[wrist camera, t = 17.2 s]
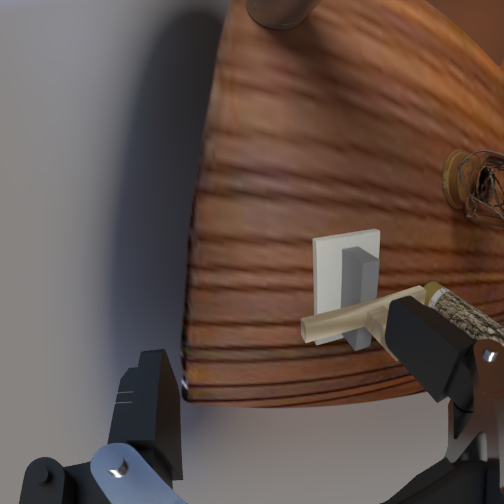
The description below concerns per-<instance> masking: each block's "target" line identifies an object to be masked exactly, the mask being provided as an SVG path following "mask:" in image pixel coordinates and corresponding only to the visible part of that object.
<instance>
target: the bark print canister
mask: <svg viewBox="0 0 504 504" xmlns="http://www.w3.org/2000/svg"><path fill="white" fill-rule="evenodd" d="M423 288H424V289H426V290H427V291H426V297H425V302H424V305H426V306H428V307H431V308H433V309H435V310H436V311H438V312H439V313H440V314H442V315H443V317H446V318H447V319H448V320H449V321H450V323H453V324H455V325H456V326H457V327H459V328H460V329H461V330H462V331H464V332H465V333H466V334H467V335H469V336H470V337H471V338H473V339H474V340H475V341H476V342H477V341H479V340H481V339H492V340H495V341H497V342H499V343H500V344H502V345H503V346H504V327H503V326H501V325H500V324H498V323H497V322H496V321H494V320H493V319H491V318H490V317H489V316H487V315H486V314H484V313H483V312H481V311H480V310H478V309H477V308H475V307H474V306H472V305H471V304H469V303H468V302H466V301H465V300H463V299H462V298H460V297H459V296H457V295H456V294H454V293H453V292H451V291H450V290H448V289H446V288H445V287H443V286H441V285H440V284H438V283H437V282H434V281H432V282H429V283H427V284H426V285H425V286H424V287H423Z"/></svg>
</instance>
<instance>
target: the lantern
mask: <svg viewBox="0 0 504 504" xmlns="http://www.w3.org/2000/svg"><path fill="white" fill-rule="evenodd" d="M478 152H486V153H485V154H483V155H482V156H481V157H480V158H478V157H476V156H475V155H473V154H475V153H478ZM497 161H499V162H497ZM500 162H502V163H500ZM489 166H492V167H493V166H494V167H493V168H496V169H497V170H496V172H497V171H500V170H502V169H500V167H501V168H504V153H502V152H499V151H494V150H493V151H489V150H479V151H476V152H473V153H471V154H468V153H467V152H465V151H464V150H462V149H456V150H453V151H452V152H451V153H450V154H449V155H448V157H447V159H446V161H445V164H444V170H443V174H442V185H443V192H444V196H445V198H446V200H447V202H448V203H449V204H450V206H452V207H453V208H455V209H460V208H463V213H464V215H465V218H466V219H468V220H469V221H471V222H473V223H479V224H485V225H491V226H497V227H503V228H504V215H501V213H499V212H498V211H497V210H495V209H494V208H492V207H491V205H489V204H488V203H489V202H490V200H491V199H492V197H493V193H494V195H495V199H496V201H497V203H498V205H494V207H500V209H501V210H502V212H503V213H504V209H502V207H501V206H502V205H504V203H501V204H500V202H499V199H498V197H497V194H496V188H495V179H496V180H497V178H496V177H495V174H494V173H496V172H495V171H494V170H495V169H494V170H491V169H490V167H489ZM503 171H504V170H503ZM497 182H498V184H499V186H500V188H501V190H502V187H501V185H500V183H499V181H498V180H497ZM502 192H503V190H502ZM503 195H504V192H503ZM479 202H480V203H482V204H483V205H485V206H487V207H489V208H490V209H492V210H493V211H495V212H496V213H497V214H491V213H483V212H478V211H476V209H477V204H478V203H479ZM503 202H504V201H503ZM474 207H475V209H474V210H473V208H474Z"/></svg>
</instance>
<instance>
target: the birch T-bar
mask: <svg viewBox="0 0 504 504" xmlns="http://www.w3.org/2000/svg"><path fill="white" fill-rule="evenodd" d="M426 291H427V290H426V289H424V288H423V287H421V286H420V285H419V286H416V287H413V288H409V289H406V290H403V291H400V292H397V293H393V294H390V295H387V296H383V297H380V298H377V299H373V300H370V301H366V302H363V303H359V304H355V305H352V306H348V307H344V308H340V309H337V310H333V311H329V312H325V313H321V314H317V315H313V316H308V317H304V318H301V336H302V337H303V339H304V341H305V342H306V343H308V342H311V341H315V340H319V339H323V338H326V337H330V336H334V335H337V334H341V333H344V332H347V331H351V330H354V329H357V328H361V327H365V328H366V329H367V330H368V331H369V332H370V333H371V334H372V335H373V336H374V338H375V339H376V340H377V341H378V342H379V343H380V344H381V345H382V346H383V347H384V348H385V349H386V351H387V352H388V353H389V354H390V355H391V356H392V357H393V358H394V359H395V360H396V361H398V359H397V358H396V357H395V356H394V354H393V353H392V352H391V351H390V350H389V349H388V347H387V345H386V342H385V329H386V323H387V317H388V310H389V305H390V302H391V301H392V300H395V299H398V298H401V297H404V296H408V295H410V296H412V297H414V298H415V299H416V300H418V301H419V302H420V303H422V304H423V305H424V302H425V297H426Z"/></svg>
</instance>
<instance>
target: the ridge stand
mask: <svg viewBox="0 0 504 504" xmlns="http://www.w3.org/2000/svg"><path fill="white" fill-rule="evenodd" d="M379 246H380V231H379V230H377V229H370V230H363V231H357V232H351V233H344V234H338V235H332V236H326V237H319V238H313V270H314V315H317V314H321V313H325V312H329V311H333V310H337V309H340V308H344V307H348V306H352V305H355V304H359V303H363V302H366V301H370V300H373V299H376V298H377V288H378V276H379V263H380V260H379ZM371 337H372V334H371V333H370V332H369V331H368V330H367V329H366V328H365V327H361V328H357V329H354V330H351V331H347V332H344V333H341V334H337V335H334V336H330V337H326V338H323V339H319V340H315V341H314V342H315V344H316V345H320V344H323V343H327V342H331V341H334V340H338V339H341V338H345V339H346V340H347V341H348V343H349V344H350V345H351V346H352V348H353V349H354V350H355V351H357V350H360V349H363V348H366V347H369V346H370V343H371Z"/></svg>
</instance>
